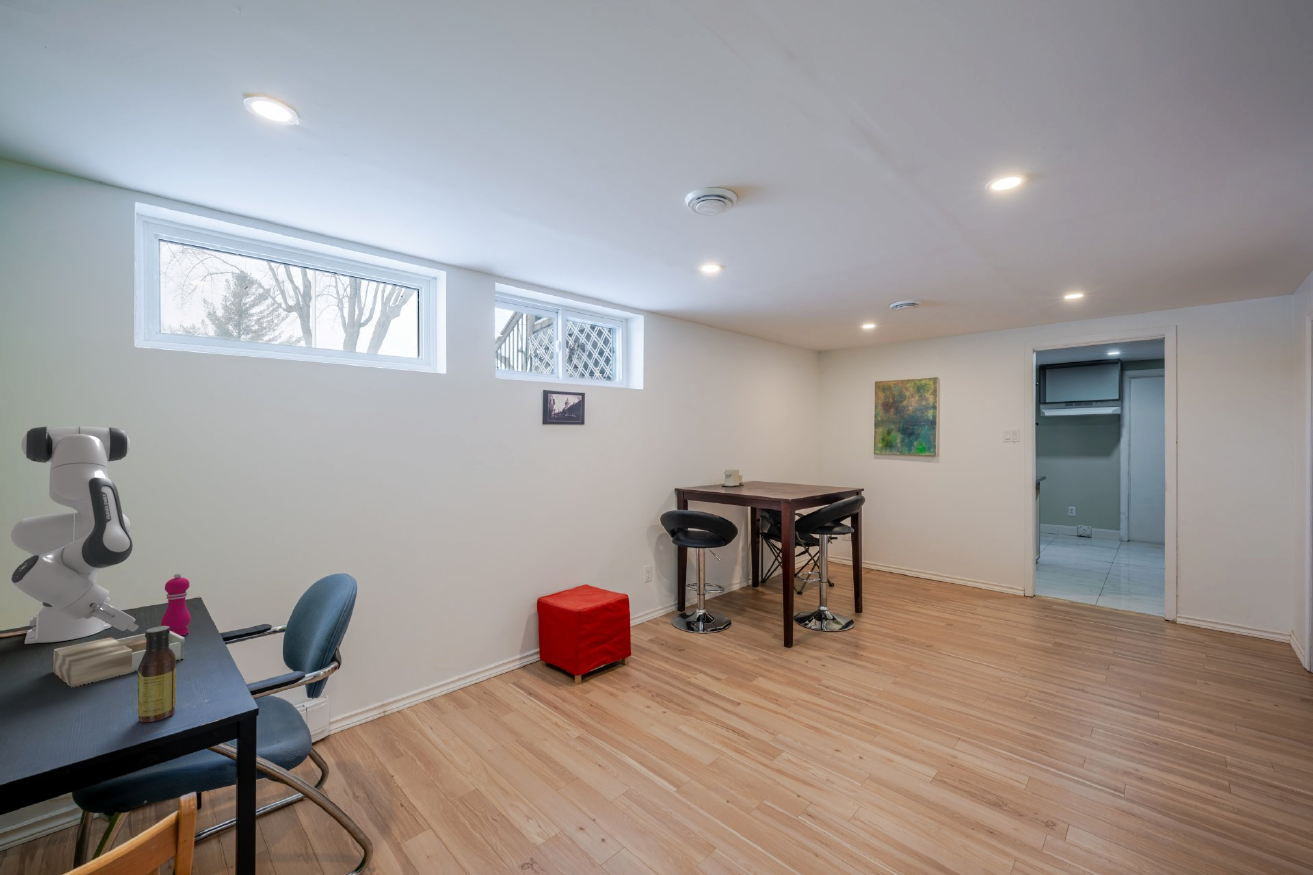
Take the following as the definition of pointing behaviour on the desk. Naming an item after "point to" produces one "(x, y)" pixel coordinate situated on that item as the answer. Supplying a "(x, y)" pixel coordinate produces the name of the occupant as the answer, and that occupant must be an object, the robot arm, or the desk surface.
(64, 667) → the beige box sleeve
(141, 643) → the walnut block
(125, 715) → the desk surface
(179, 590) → the pepper mill
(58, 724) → the desk surface
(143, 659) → the sauce bottle
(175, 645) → the tray
